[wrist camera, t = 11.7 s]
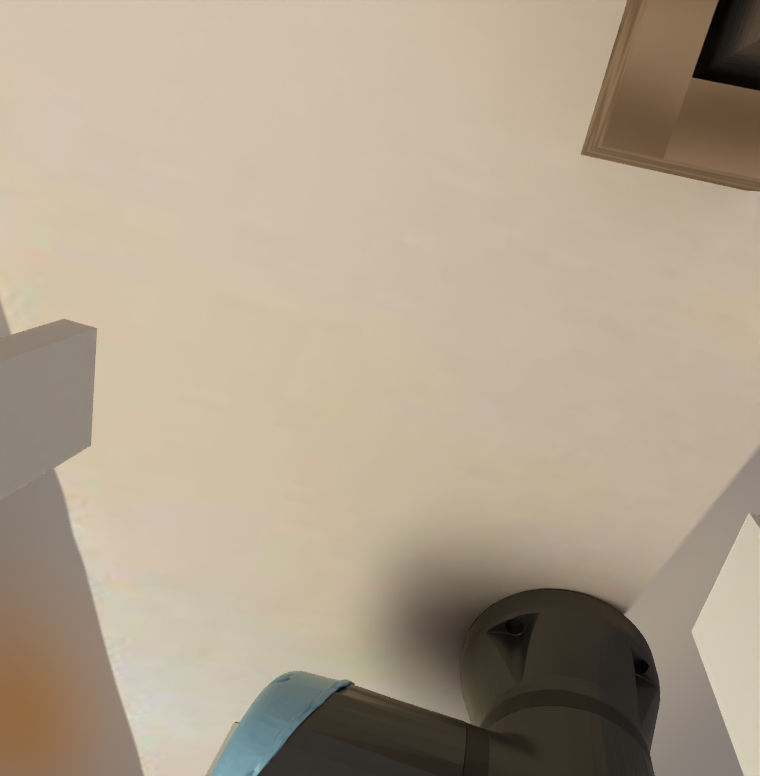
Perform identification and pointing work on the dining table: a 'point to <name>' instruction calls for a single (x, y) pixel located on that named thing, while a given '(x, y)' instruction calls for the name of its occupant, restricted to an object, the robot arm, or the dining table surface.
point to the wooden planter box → (673, 101)
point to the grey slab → (732, 45)
